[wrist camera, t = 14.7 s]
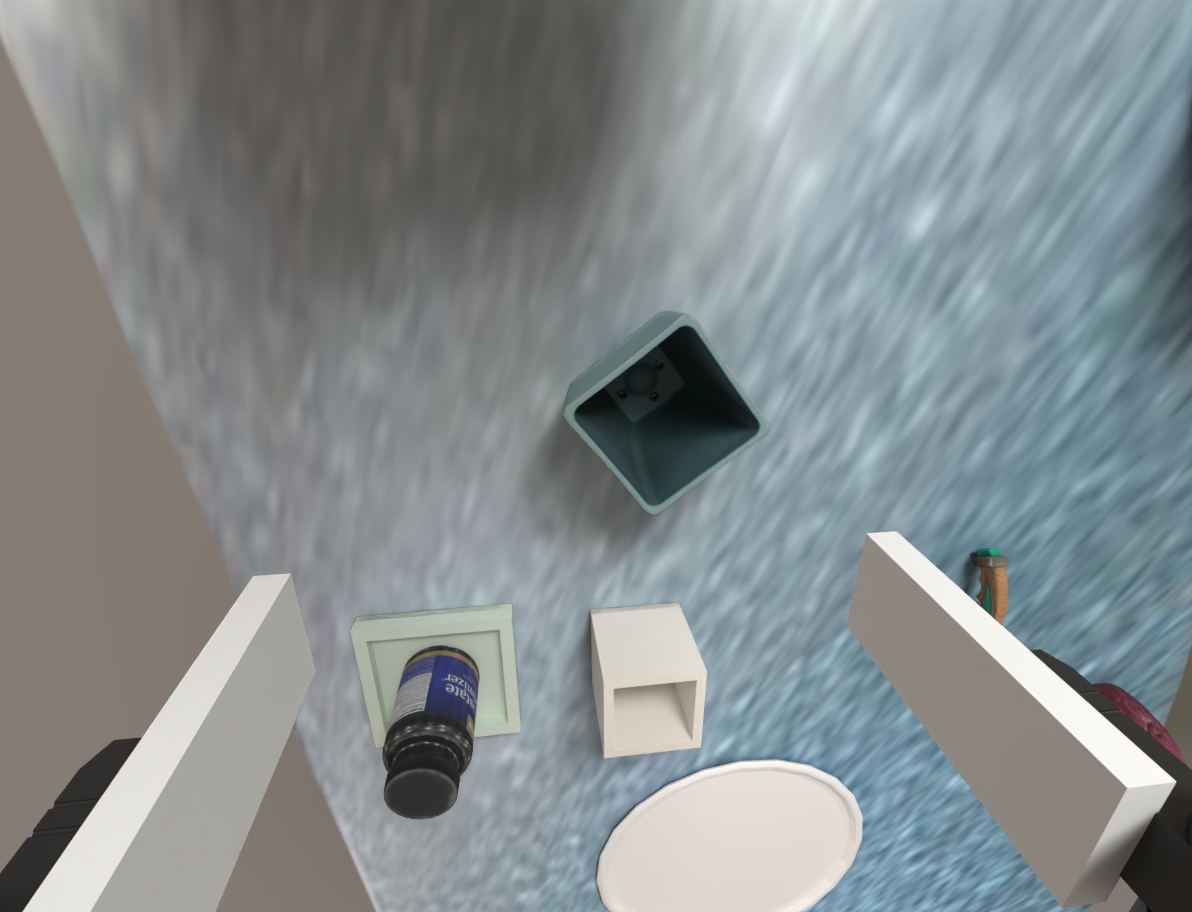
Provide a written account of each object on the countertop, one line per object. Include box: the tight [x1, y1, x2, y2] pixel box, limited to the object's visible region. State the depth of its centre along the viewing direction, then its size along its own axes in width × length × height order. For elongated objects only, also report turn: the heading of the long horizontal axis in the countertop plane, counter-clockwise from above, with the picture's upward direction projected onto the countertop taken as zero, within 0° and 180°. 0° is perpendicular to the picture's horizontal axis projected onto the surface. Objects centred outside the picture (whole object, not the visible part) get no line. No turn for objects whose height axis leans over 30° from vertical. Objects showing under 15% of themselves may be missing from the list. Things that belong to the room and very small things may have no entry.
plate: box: [597, 759, 863, 912], centre depth 63 cm, size 29×29×1 cm
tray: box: [350, 603, 521, 748], centre depth 48 cm, size 12×12×2 cm
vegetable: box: [1092, 683, 1186, 765], centre depth 57 cm, size 10×10×15 cm
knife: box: [972, 548, 1008, 625], centre depth 52 cm, size 21×2×5 cm, turn 3°
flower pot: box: [563, 311, 769, 515], centre depth 37 cm, size 9×9×9 cm
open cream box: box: [590, 602, 707, 758], centre depth 46 cm, size 7×7×8 cm
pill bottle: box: [383, 645, 480, 819], centre depth 43 cm, size 6×6×11 cm
